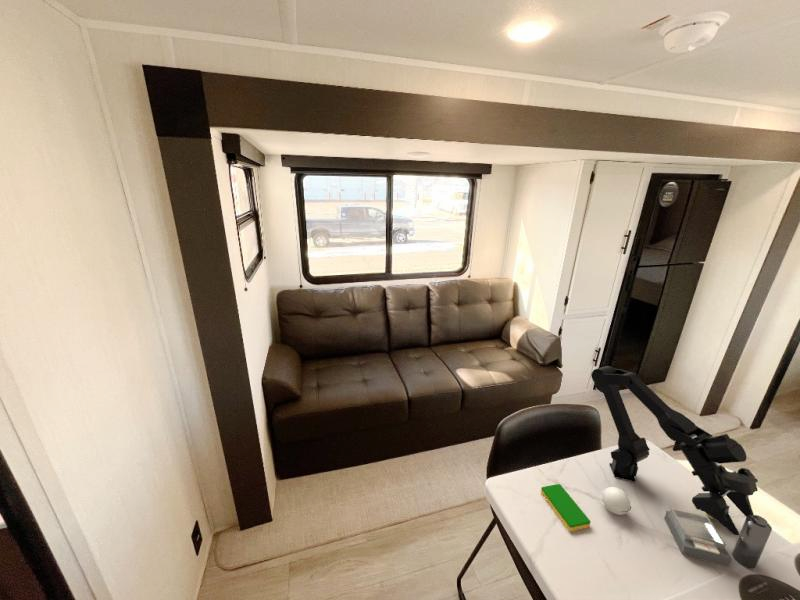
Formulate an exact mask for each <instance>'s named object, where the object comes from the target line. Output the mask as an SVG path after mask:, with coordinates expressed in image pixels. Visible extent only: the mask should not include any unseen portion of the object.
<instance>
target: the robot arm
mask: <svg viewBox="0 0 800 600" xmlns="http://www.w3.org/2000/svg"><path fill="white" fill-rule="evenodd" d="M590 376H591V380H592V381H593V383H594V385H595V387H596V388H597V389H598V390H599V391H600V392H601V393H602V394H603V396H604V399H605V401H606V402H605V403H606V404H607V407H608V409H609V411H610V416H611V417H612V420H613V422H614V426H615V428H616V430H617V433H618V440H617V447H618V448H616V449H613V450H611V452H610V456H611V459H612V461H611V463H609V466H610V470H611V472H612V475H613V477H614V478H615V479H621V480H625V481H630V482H634V483H636V481H637V479H636V478H637V474H638V471H639V466H638V463H639V462H642V461H643V460H646V459H647V458H648V457H649V455H650V450H651V449H650V447H649V446H648V444H647V440H646V438H645V437H641V436H639V435H638V434H637V433H636V432H635V429H634V426H633V424H632V421H631V419H630V416H629V414H628V411H627V408H626V406H625V403H624V400H623V398H622V395H621V393H620V387H621V386H624V387H626V388H627V389H628V390H629V391H630V392H631V393H632V395H634V397H636V398H637V400H639V401H640V402H641V404H643V406H644V407H646V408H647V409H648V411H649V412H650V413H651V414H653V416H654V417H655V418H656V421H657V423H658V425H659V427H660V429H662V431H663V432H664V433H665V436H667V437H668V438H669V439H670V440H672V441H673V442H674V443H673V444H674V446H673V447H672V451H673V452H679V451H681V453H682V454H683V455H684V457H685V458H686V460H687V462H688V463H689V464H690V467H691V469H693V470H692V471H691V474H692V476H697V477H698V479H699V480H700V482H701V483H702V485H703V486H702V487H701V489H702V492H699V493H697V494H695V496H693V497H692V499H691V503H692V504H693V506H694V507H695V509H696V510H699V511H701V512H704V511H705V512H706V513H707V514H709V515H710V516H712V517H713V518H714V519H713V520H715V519H716V522H717V523H719V524H720V525H721V526H723V527H724V528H725V529H726V530H728V531H729V532H730V533H731V534H732V535H734V536H738V537H739V535H740V532H739V531H738V528H737V526H736V525H735V523H734V520H733V519H732V517H731V516H730V514H729V513H728V510H730V505H728V506H726V503H727V501H726V499H725V497H727V498H728V499H729V500H730V502H732V504H733V505H735V507H736V508H737V510H739V511H740V512H741V513H742V514H743V515H744V517H745V518H746V517H747V516H748V515H753V516H754V515H755V513H754V511H753V508H752V505H751V502H750V499H749V496H752V495H754V493H756V492H758V491H759V490H758V487H757V484H756V483H758V481H759V480H758V479H757V478H756V477H755V475H754V474H753V473H752V472H751V470H750V469H749V468H745V467H740V468H739V469H738V470H737V471H735V470H734V471H728V470H727V469H726V467H725V466H724V465H722V464H732V463H744V462H746V461H747V454H746V453H747V452H746V451H745V449H744V448H743V445H741V444H740V443H739V442H738V441H736V440H735V439H733V438H730V435H728V434H727V433H723V434H719V435H715V436H713V435H712V434H711V433H710V432H707V431H706V430H704V429H702V428H701V427H699V426H697V425H696V424H695V423H694V422H693V421H692V420H691V419H690V418H688V417H687V416H686V415H684V414H683V413H681V412H679V411H677V410H674V409H673V408H671V407H670V406H669V405H667V403H665V401H663V399H661V397H659V396H658V395H657V394H656V392H654V391H653V390H652V389H651V388H650V387H649V386H648V385H647V384H646V383H645V382H643V381H642V380H641V379H640V377H639V376H638V374H637V373H636V372H631V371H626V370H624V369H618V368H614V367H612V366H610V365H605V366H602V367H599V368H596V369H595V368H594V369H593V370H592V372H591V375H590ZM705 512H704V513H705ZM706 513H705V514H706ZM707 514H706V515H707Z"/></svg>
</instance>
